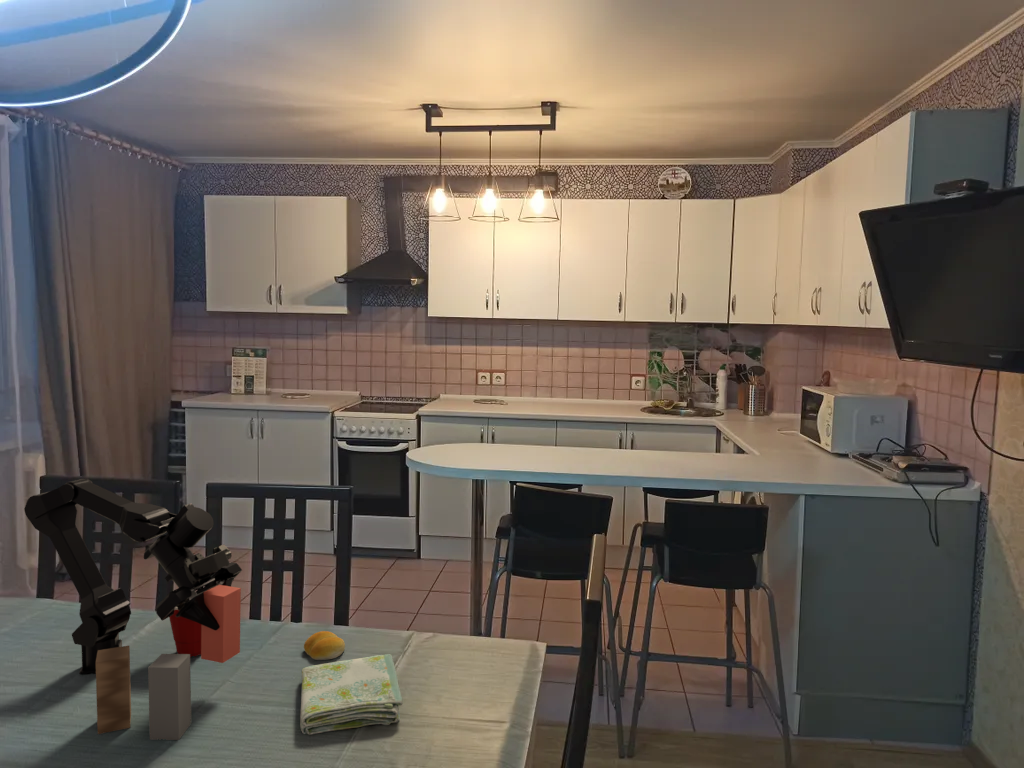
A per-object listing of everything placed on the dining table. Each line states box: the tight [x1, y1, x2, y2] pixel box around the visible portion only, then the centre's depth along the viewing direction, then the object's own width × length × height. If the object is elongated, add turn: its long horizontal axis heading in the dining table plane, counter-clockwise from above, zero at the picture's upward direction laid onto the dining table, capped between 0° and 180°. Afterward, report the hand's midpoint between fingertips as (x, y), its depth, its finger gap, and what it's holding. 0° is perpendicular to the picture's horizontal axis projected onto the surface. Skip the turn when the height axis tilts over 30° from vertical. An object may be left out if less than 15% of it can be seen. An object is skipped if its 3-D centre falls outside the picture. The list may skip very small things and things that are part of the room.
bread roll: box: [303, 630, 346, 661], centre depth 158 cm, size 8×9×4 cm
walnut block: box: [95, 645, 132, 735], centre depth 128 cm, size 5×5×13 cm
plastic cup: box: [168, 607, 202, 658], centre depth 157 cm, size 11×11×12 cm
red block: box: [200, 585, 242, 664], centre depth 140 cm, size 5×5×13 cm
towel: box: [299, 653, 403, 736], centre depth 138 cm, size 18×21×5 cm
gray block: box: [147, 653, 192, 741], centre depth 126 cm, size 5×5×13 cm
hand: (227, 623), depth 140 cm, fingers closed on red block, 5 cm apart
